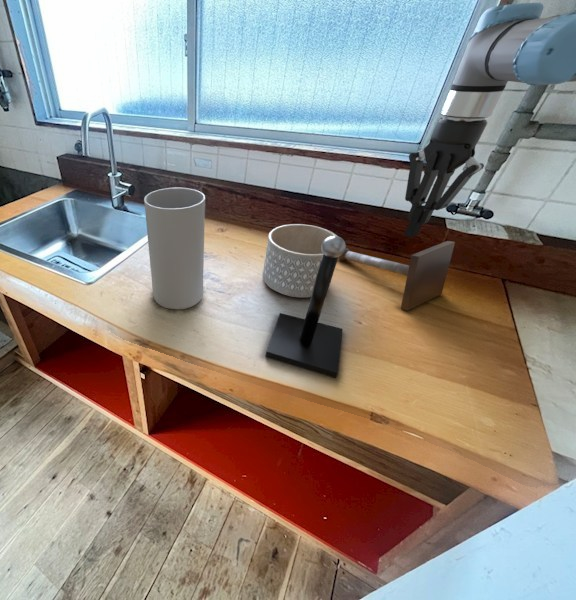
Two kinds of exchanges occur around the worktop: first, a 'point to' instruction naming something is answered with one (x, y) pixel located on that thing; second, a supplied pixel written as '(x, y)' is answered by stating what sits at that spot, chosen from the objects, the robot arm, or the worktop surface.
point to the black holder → (311, 324)
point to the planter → (294, 258)
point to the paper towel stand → (414, 271)
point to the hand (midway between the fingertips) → (410, 234)
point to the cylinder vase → (176, 245)
